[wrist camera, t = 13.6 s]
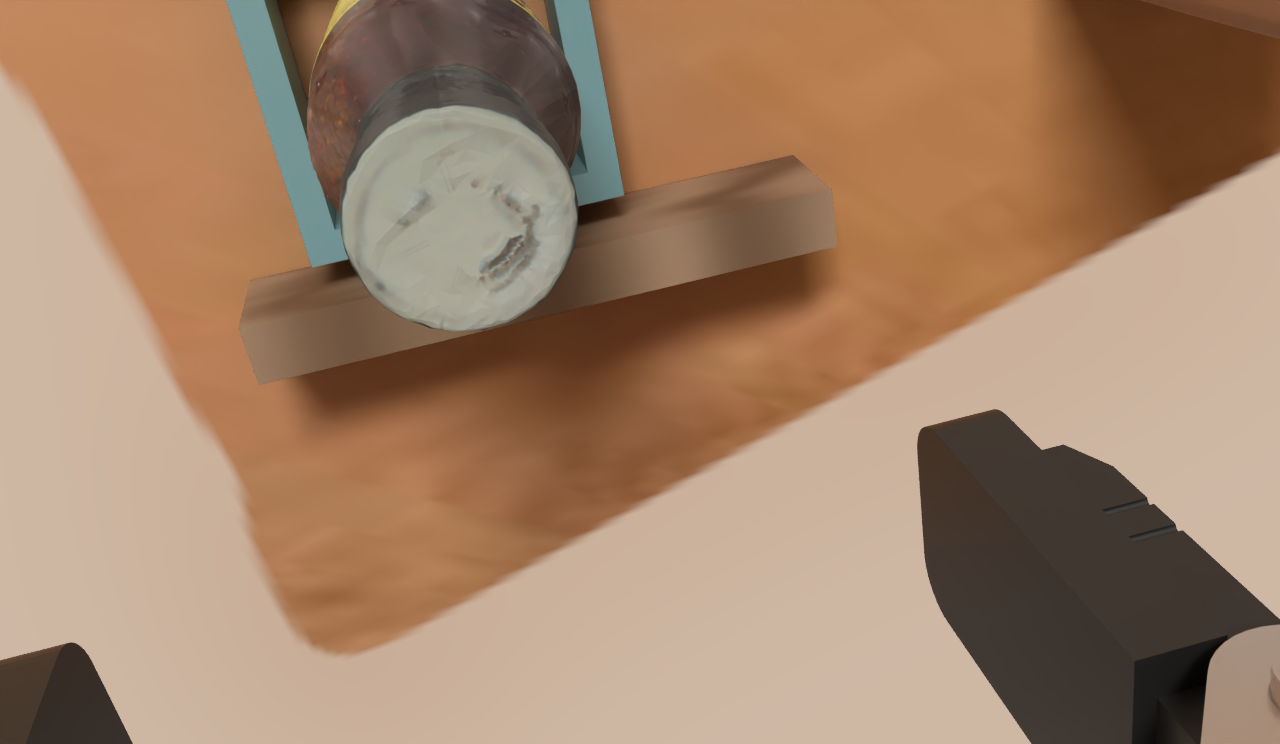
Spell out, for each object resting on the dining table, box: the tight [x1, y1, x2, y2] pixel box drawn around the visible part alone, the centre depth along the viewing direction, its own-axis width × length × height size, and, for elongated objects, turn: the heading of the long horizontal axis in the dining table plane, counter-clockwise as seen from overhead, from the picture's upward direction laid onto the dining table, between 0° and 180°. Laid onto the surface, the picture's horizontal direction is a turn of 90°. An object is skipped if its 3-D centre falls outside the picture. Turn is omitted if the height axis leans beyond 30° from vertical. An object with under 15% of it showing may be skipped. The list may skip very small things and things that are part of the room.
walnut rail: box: [239, 155, 838, 385], centre depth 39 cm, size 19×2×4 cm, turn 100°
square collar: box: [226, 0, 624, 268], centre depth 36 cm, size 10×11×3 cm
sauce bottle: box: [307, 0, 581, 332], centre depth 29 cm, size 7×6×20 cm
